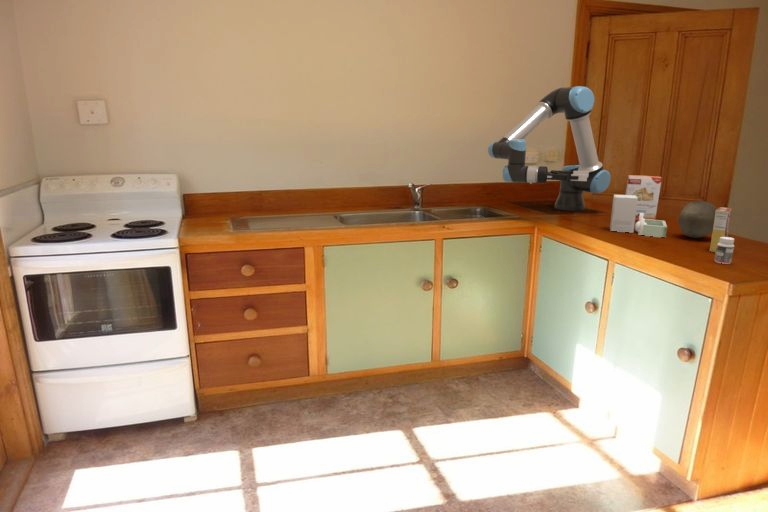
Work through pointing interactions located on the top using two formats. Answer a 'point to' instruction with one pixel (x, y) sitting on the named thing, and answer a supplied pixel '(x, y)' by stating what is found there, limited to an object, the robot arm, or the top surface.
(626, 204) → the supplement box
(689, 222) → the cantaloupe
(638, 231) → the ball
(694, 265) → the top surface
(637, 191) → the cracker box
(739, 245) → the top surface
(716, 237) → the candy box
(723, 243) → the pill bottle
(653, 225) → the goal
